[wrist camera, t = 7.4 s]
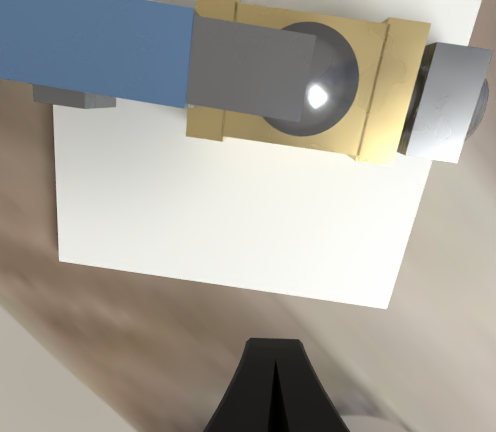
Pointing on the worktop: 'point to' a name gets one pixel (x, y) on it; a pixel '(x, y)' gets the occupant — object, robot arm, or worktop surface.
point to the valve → (368, 94)
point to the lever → (181, 59)
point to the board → (242, 190)
